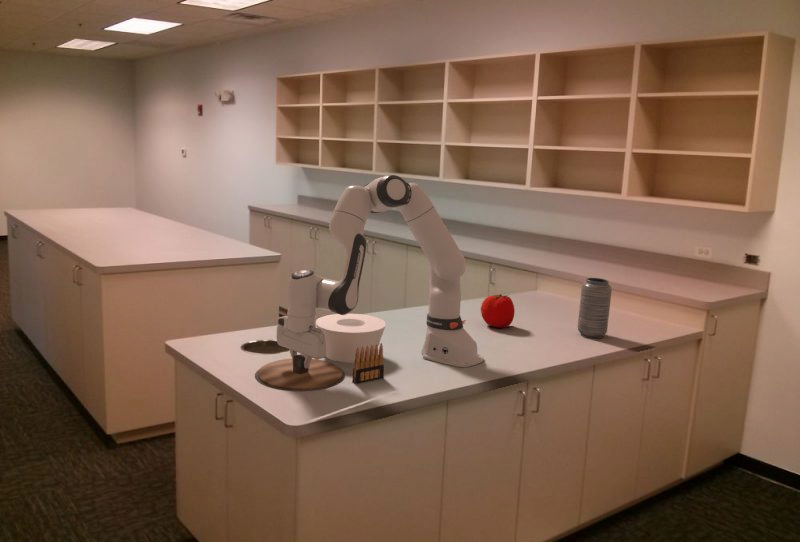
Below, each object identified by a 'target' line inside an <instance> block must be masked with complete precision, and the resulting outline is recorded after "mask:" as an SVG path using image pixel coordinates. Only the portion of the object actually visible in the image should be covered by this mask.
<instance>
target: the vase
mask: <svg viewBox="0 0 800 542" xmlns="http://www.w3.org/2000/svg"><path fill="white" fill-rule="evenodd" d="M612 291H613V289H612V286H611V285H610V282H609V280H608V279H605V278H599V277H588V278H586V280H585V281H584V282H583V284H582V285H581V292H580V298H579V299H580V300H579V307H578V308H579V311H578V319H577V331H578V332H579V333H580V335H581V336H582V337H584V338H589V339H602V338H603V337H604V336H605V335H606V334H607V332H608V326H609V325H608V324H609V316H610V310H611V300H612Z"/></svg>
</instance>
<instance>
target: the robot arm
mask: <svg viewBox="0 0 800 542" xmlns="http://www.w3.org/2000/svg"><path fill="white" fill-rule="evenodd" d="M393 208H395V209H396V210H397V211H398V212H399V213H400V214H401V216H402V218H403V219H404V221H405V223H406V225H407V226H408V228H409V230H410V231H411V233H412V235H413V237H414V239H415V240H416V242H417V244H418V245H419V247H420V249H421V251H422V252H423V254H424V256H425V258H426V259H427V261H428V262H429V272H428V273H429V275H428V276H429V278H428V279H429V284H428V285H429V297H428V313H427V314H426V332H425V333H426V334H425V339H424V344H423V345H422V349H421V354H422V358H423V359H424V360H428V361H432V362H436V363H441V364H445V365H450V366H452V367H453V366H454V367H457V368H458V367H459V368H466V367H467V368H468V367H472V366H475V365H479V364H481V363H482V362H483V361H484V360H485V359H484V358H485V357H484V356H483V355H481V354H478V345H477V341H475V340H474V338H472V336H471V335H470V334H469V333H468V332H467V331H466V329H465V328H464V324H465V323H466V320H462V317H461V314H460V313H461V301H462V300H461V299H462V291H461V289H462V288H461V278H462V276H463V275H464V274H465V271H466V267H467V262H466V261H467V260H466V259H465V256H464V255H463V253H462V251H461V249H460V248H459V246H458V245H457V243H456V241H455V239H454V238H453V236H452V234H451V233H450V231H449V230H448V227H447V226H446V224H445V223H444V221H443V219H442V218H441V216H440V214H439V212H438V210H437V208H436V207H435V206H434V204H433V202H432V200H431V199H430V197H429V196H428V195H427V193H426V192H425V191H424V190H423V189H422V187H421V186H420V185H419V184H418V183H416V182H409V183H408V182H406V180H404V178H402V177H401V176H398V175H396V174H386V175H384V176H380V177H378V178H376V179H373V180H372V181H370V182H369V183H367V184H365V185H364V186H361V185H349V186H347V187H346V188H345V189H344V190H343V192H342V193H341V195H340V197H339V199H338V201H337V203H336V205H335V207H334V209H333V212H332V215H331V217H330V220H329V224H328V231H329V234H330V235H331V237H332V239H333V240H334V241H335V242H336V243H337V244H339V245H340V246H341V247H343V248H344V249H345V252H346V261H345V264H344V269H343V274H342V278H341V279H340V280H334V279H331V278H326V277H323V276H320V275H318V274H316V273H315V271H313V270H311V269H299V270H296V271H293V272H292V273H291V274H290V277H289V280H288V286H287V303H288V309H287V312H286V314H287V315H284V316H279V317H277V318H276V324H277V326H276V342H277V345H278V346H280V347H283V348H286V349H289V354H290V356H291V359H292V363H293V356H296V355H298V353H299V354H303V355H304V358H306V359H305V361H304V362H302V367H303V368H309V367H310V361H311V359H317V360H322V359H325V358H326V339H325V335H324V333H323V332H322V330H321V329H319V328H317V325H316V320H317V309H318V308H319V309H321V310H324V311H325V310H326V311H328V312H329V311H330V312H332V313H334V314H340V315H346V314H350V313H351V312H352V311H353V310H355V308H356V307H357V305H358V302H359V294H360V293H359V290H360V282H361V278H362V273H363V272H362V271H363V268H364V263H365V259H366V253H367V240H366V237H364V236H365V235H364V230H365V226H366V223H367V220H368V217H369V215H370V214H371V213H372V214H378V213H383V212H389V211H391V210H392V209H393Z"/></svg>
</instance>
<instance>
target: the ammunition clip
mask: <svg viewBox="0 0 800 542" xmlns="http://www.w3.org/2000/svg"><path fill="white" fill-rule="evenodd" d="M383 347H384V346H383V343H382V342H380V343H379V346H378V345H377V344H376V346H375V352H374V348H373V345H371V348H370V356H369V348H368V345H367V347H366V350H365V358H364V348H363V346H362V348H361V352H360V359H359V348H358V347H357V349H356V355H355V362H354V363H353V365H354V367H353V369H352V383H354V385H359V384H363V383H367V382H373V381H377V380H382V379H384V378H385V375H384V374H385V366H384V348H383Z"/></svg>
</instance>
